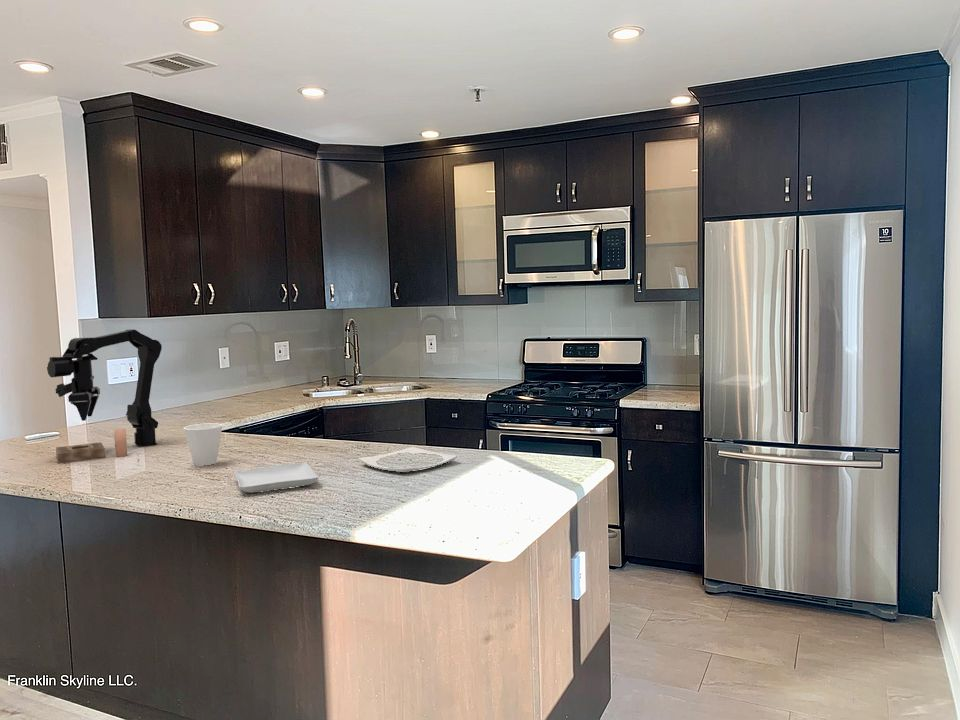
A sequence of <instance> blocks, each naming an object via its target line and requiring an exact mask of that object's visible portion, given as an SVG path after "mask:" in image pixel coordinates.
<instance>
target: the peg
mask: <svg viewBox="0 0 960 720" xmlns="http://www.w3.org/2000/svg"><path fill="white" fill-rule="evenodd" d="M113 432H114V434H113V435H114V448H115V457H117V458H121V457H123V458H124V457H126V456H128V444H127V443H128V442H127V429H125V428H123V429H115V430H114V431H113Z"/></svg>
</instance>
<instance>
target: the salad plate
mask: <svg viewBox="0 0 960 720" xmlns="http://www.w3.org/2000/svg"><path fill="white" fill-rule="evenodd" d="M233 475H234V476H235V478H236V480H237V485H238V488H239V489H240V491H242V492H245V493H248V494H249V493H250V494H254V493H253V492H259V493H262V492H261V491H267V490H274V489H282V488H289V487H296V486H303V485H307V486H310V485H313V483H315V482H316V481H318V480H319V475H318V474H317V473H316V472H315V470H313V469H312V467H311V466H310V464H308V463H307V461H306V462H305V461H303V462H298V463H297V462H296V463H288V464H286V463H285V464H279V465H270V466H269V465H268V466H263V467H256V468H255V467H254V468H248V469H241V470H234V471H233ZM309 484H310V485H309ZM267 492H268V491H267Z"/></svg>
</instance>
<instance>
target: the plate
mask: <svg viewBox="0 0 960 720" xmlns="http://www.w3.org/2000/svg"><path fill="white" fill-rule="evenodd" d="M405 452H410V453H427V454H437V455H440V456H442V457H443V459H444V460H443V461H442V462H440V463H437V464H433V465H428V466H423V467H418V468H388V467H382V466H379V465H377V463H376V461H378V460H379V459H380V458H383V457H386V456H390V455H393V454H397V453H405ZM457 458H458V455H454V454H445V453H440V452H435V451H429V450H426V449H422V448H419V447H414V446H410V447H408V448H407V447H406V448H403V449H401V450H397V451H394V452H388V453H383V454H378V455H374V456H365V457H358V461H360V462H361V463H362V464H364V465H366V466H368V467H370V466H371V468H373V467H374V469H377V468H378V469H377V470H380V469H382V470H381V471H383V470H388V471H387V472H389V471H396V472H395V473H400V472H406V473H409V472H408V471H413V470H419V469H423V468H428V467H432V466H436V465H440V464H443V463H446V462H448V463H450V462H449V461H451V462H453V461H455V460H456V459H457ZM452 460H453V461H452ZM446 464H447V463H446Z"/></svg>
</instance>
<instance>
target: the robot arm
mask: <svg viewBox="0 0 960 720" xmlns="http://www.w3.org/2000/svg"><path fill="white" fill-rule="evenodd" d="M127 342H129V343H130V344H131V345H132V346H133V347H134V348H136V349H137V356H138V360H139V362H140V363H139V369H138V376H137V383H136V390H135V396H134V400H133V402H132V403H131V404H127V406H126V407H127V411H126V413H125V416H126V419H127V422H128V423H130V424H131V425H132V429H135V432H134V433H133V436H134V437H133V438H134V444H135V445H136V446H137V447H145V446H146V447H147V446H152V445H157V444H158V443H157V442H156V441H157V440H156V429H158V427H159V422H158V421H157V420H156V419H155V418H153V416H152V407H151V404H150V397H151V396H150V395H151V390H152V381H153V376H154V370H155V369H154V368H155V365H156V362H157V360H158V359H160V357H161V356H160V355H161V353H162V350H163V346H162V344H161V342H160V341H159V340H157V339H152V338H151V337H150V336H148V335H146V334H143V333H141V332H139V331H138V330H136V329H125V330H123V331H118V332H114V333H109V334H105V335H100V336H99V335H98V336H94V337H74V338H71V339H70V340H69V342H68V345H67V348H66V350H65V352H64V353H63V355H61V356H51V357H49V361H48V363H47V367H46V370H47V374H48V376H49V377H50V378H59V377H60V378H61V377H69V376H71V375H72V374H73V377H72V378H71V379H70V380H71V382H69V383H66V384H65V383H59V384H57V385H56V388H55V389H54V390H55V394H57V396H58V397H59V398H62V397H63V396H65V395H68V394H69V395H68V396H67V397H68V402H69V403H70V404H71V405H73V406H74V407H76V409H77V411H78V414H79V417H80V420H81V421H83V422H84V421H85V422H86V420H87V418H88V417H92V416H93V414H94V410H95V408H96V405H97V402H98V400H99V398H100V394H101V391H100V390H101V389H100V388H99V387H98V386H94V379H95V375H93V368H92V361H97V360H98V357H97V356H96V355H94V354H93V353H94V352H96V351H97V350H99V349H102V348H106V347H110V346H113V345H118V344H121V343H127Z"/></svg>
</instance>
